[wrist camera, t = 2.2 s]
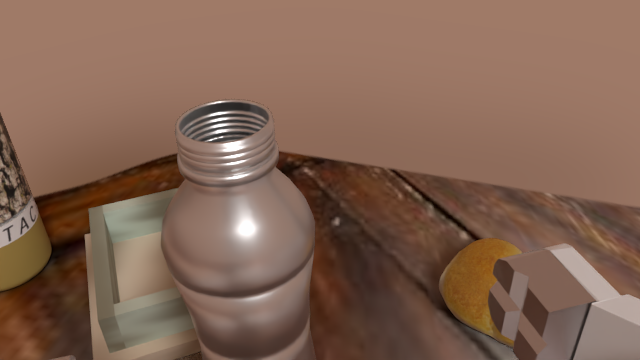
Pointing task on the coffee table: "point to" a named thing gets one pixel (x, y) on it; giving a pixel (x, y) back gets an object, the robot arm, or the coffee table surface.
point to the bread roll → (475, 284)
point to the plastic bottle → (239, 236)
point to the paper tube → (18, 222)
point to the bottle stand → (135, 284)
